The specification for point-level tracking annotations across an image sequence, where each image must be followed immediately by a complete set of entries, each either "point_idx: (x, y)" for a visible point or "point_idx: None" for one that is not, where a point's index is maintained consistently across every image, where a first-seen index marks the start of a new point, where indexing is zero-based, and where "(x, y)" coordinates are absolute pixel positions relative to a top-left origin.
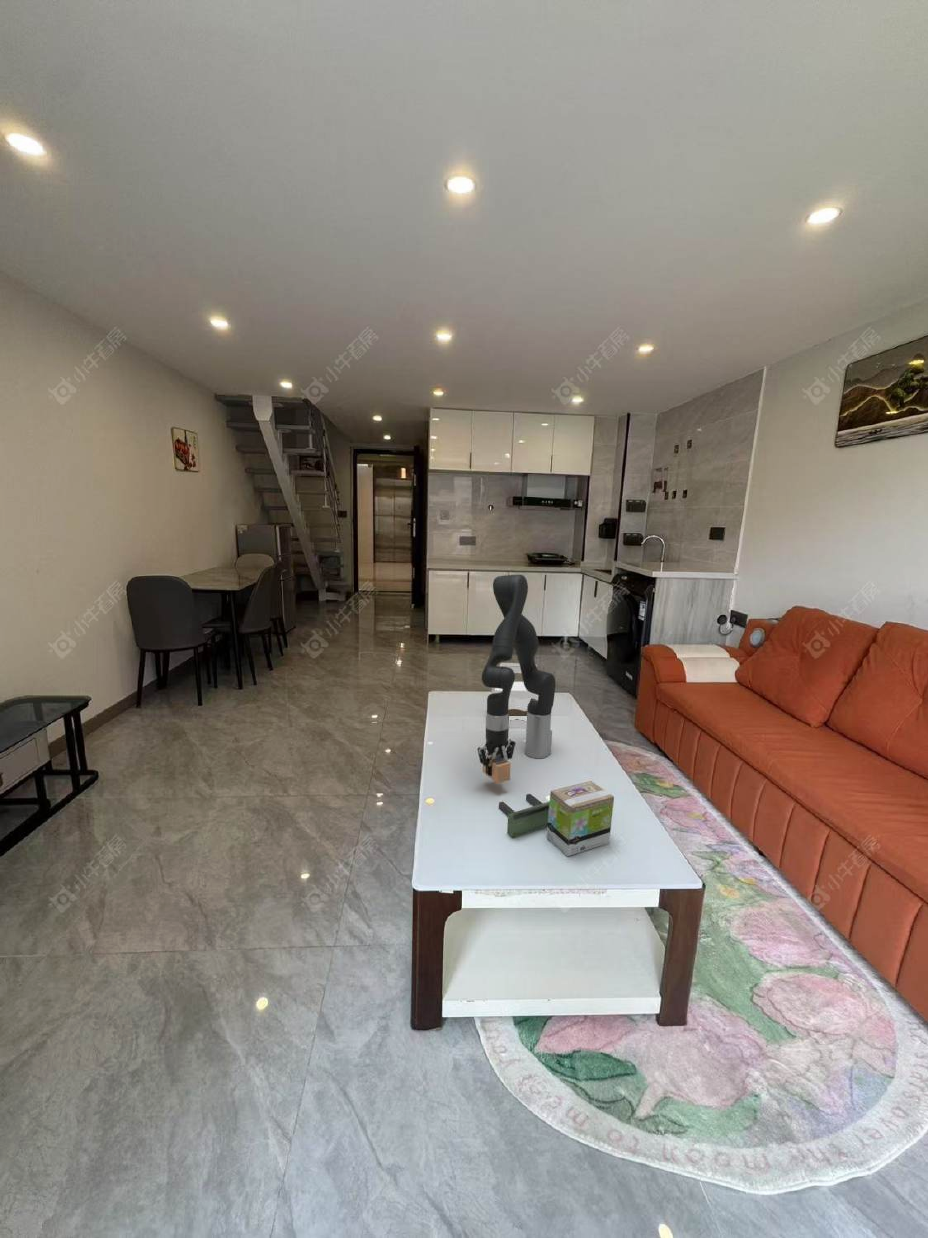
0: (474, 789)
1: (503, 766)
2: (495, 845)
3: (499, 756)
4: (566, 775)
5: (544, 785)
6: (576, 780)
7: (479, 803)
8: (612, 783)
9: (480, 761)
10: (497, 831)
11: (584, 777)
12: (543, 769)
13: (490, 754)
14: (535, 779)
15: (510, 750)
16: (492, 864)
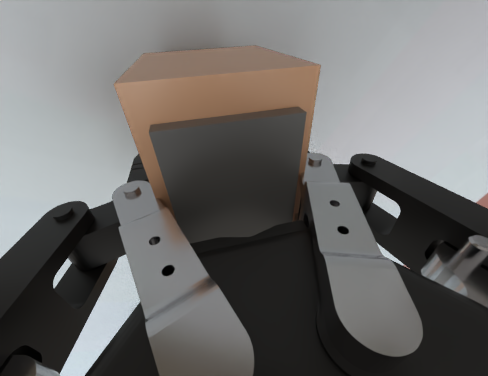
0: (88, 79)
1: None
2: (99, 329)
3: (278, 207)
4: (467, 119)
5: (369, 152)
6: (451, 154)
7: (92, 195)
8: (476, 188)
9: (41, 229)
10: (118, 300)
11: (478, 147)
12: (476, 39)
13: (218, 142)
14: (384, 105)
15: (394, 248)
16: (78, 359)
